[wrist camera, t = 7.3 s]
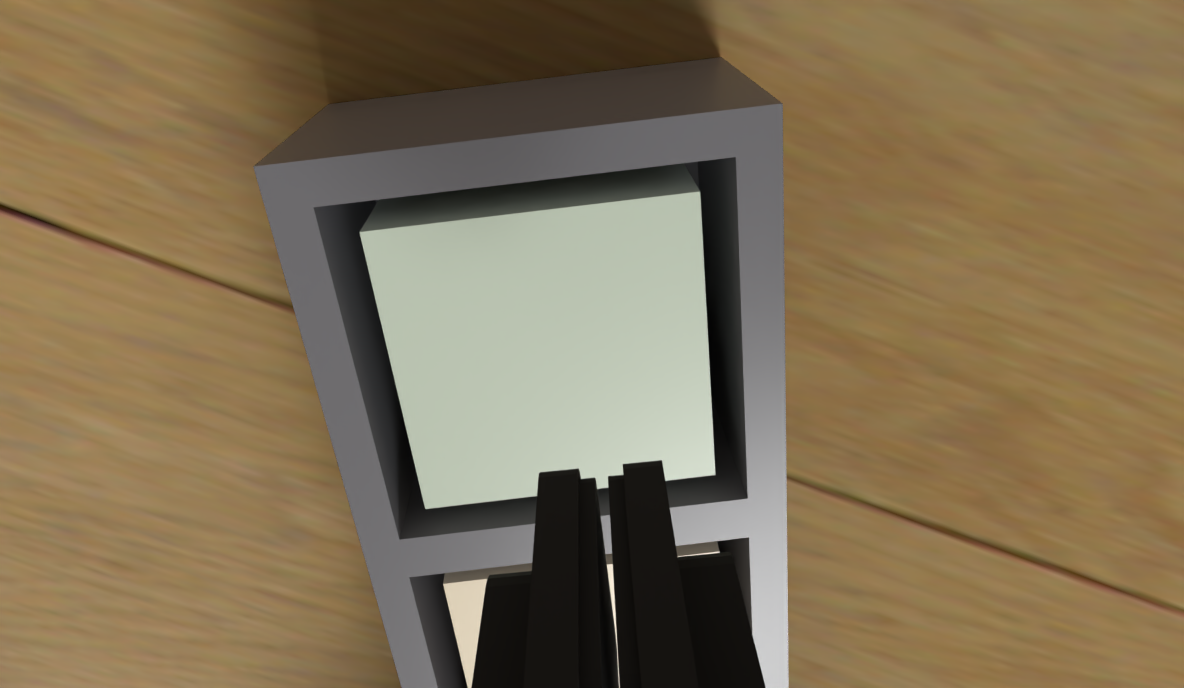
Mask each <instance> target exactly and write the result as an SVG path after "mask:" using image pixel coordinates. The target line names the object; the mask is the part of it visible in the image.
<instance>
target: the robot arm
mask: <svg viewBox="0 0 1184 688" xmlns="http://www.w3.org/2000/svg"><path fill="white" fill-rule="evenodd" d="M608 489H609V506H610V524H611V542H612V560H613V578H614V595H615V613H616V631H617V644H616V634H615V625H614V617H613V609H612V601H611V593H610V586H609V578H608V570H607V562H606V554H605V546H604V538H603V531H602V523H601V515H600V507H599V499H598V491H597V484H596V478H585V479H581V476H580V471H579V468H578V469H568V470H558V471H548V472H540V473H539V477H538V489H537V503H536V517H535V531H534V545H533V559H532V571H526V572H515V573H505V574H495V575H489V577H488V579H487V583H486V587H485V595H484V602H483V609H482V616H481V623H480V630H479V637H478V644H477V651H476V659H475V666H474V673H473V680H472V687H471V688H619V683H620V688H766V687H765V683H764V679H763V675H762V671H761V667H760V663H759V659H758V655H757V651H756V647H755V643H754V639H753V635H752V631H751V627H750V623H749V619H748V615H747V611H746V607H745V603H744V599H743V595H742V591H741V587H740V583H739V579H738V575H737V571H736V567H735V563H734V560H733V556H732V554H731V552H723V553H713V554H703V555H692V556H682V557H678V556H677V550H676V544H675V538H674V531H673V525H672V519H671V513H670V507H669V500H668V494H667V488H666V482H665V476H664V469H663V463H662V460H658V461H648V462H638V463H628V464H623V475H615V476H608ZM617 649H618V658H617ZM618 667H619V676H618Z"/></svg>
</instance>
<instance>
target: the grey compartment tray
mask: <svg viewBox="0 0 1184 688" xmlns="http://www.w3.org/2000/svg"><path fill="white" fill-rule="evenodd" d="M682 163H684V165H685V166H686V168H687V170H688V171H689V173H690V175H691V177H692V178H693V180H694V182H695V183H696V185H697V187H698V189H699V190H700V198H701V217H702V235H703V254H704V272H705V291H706V310H707V328H708V347H709V365H710V384H711V402H712V421H713V439H714V458H715V475H710V476H702V477H694V478H685V479H677V480H668V481H665V482H666V488H667V494H668V500H669V507H670V513H671V519H672V525H673V531H674V538H675V544H676V546H680V545H688V544H697V543H705V542H714V541H717V544H718V548H719V551H720V553H723V552H731V554H732V556H733V560H734V563H735V567H736V571H737V575H738V579H739V583H740V587H741V591H742V595H743V599H744V603H745V607H746V611H747V615H748V619H749V623H750V627H751V631H752V635H753V639H754V643H755V647H756V651H757V655H758V659H759V663H760V667H761V671H762V675H763V679H764V683H765V687H766V688H788V592H787V494H786V397H785V300H784V202H783V105H782V103H781V102H780V101H779V100H777V99H776V98H775V97H773V96H772V95H771V94H769V93H768V92H767V91H765V90H764V89H763V88H761V87H760V86H759V85H757V84H756V83H755V82H754V81H752V80H751V79H750V78H748V77H747V76H746V75H744V74H743V73H742V72H740V71H739V70H738V69H736V68H735V67H734V66H732V65H731V64H730V63H728V62H727V61H726V60H724V59H723V58H722V57H719V58H711V59H702V60H694V61H686V62H677V63H669V64H661V65H652V66H644V67H635V68H627V69H619V70H610V71H602V72H594V73H585V74H577V75H569V76H560V77H552V78H544V79H535V80H527V81H518V82H510V83H502V84H493V85H485V86H477V87H468V88H460V89H452V90H443V91H435V92H427V93H418V94H410V95H401V96H393V97H385V98H376V99H368V100H360V101H351V102H343V103H335V104H328V105H327V106H326V107H324V108H323V109H322V110H321V111H320V112H318V113H317V114H316V115H315V116H314V117H312V118H311V119H310V120H309V121H308V122H306V123H305V124H304V125H303V126H302V127H300V128H299V129H298V130H297V131H296V132H294V133H293V134H292V135H291V136H290V137H288V138H287V139H286V140H285V141H284V142H282V143H281V144H280V145H279V146H278V147H276V148H275V149H274V150H273V151H272V152H270V153H269V154H268V155H267V156H265V157H264V158H263V159H262V160H261V161H259V162H258V163H257V164H256V165H255V166H253V167H254V171H255V174H256V178H257V181H258V185H259V188H260V192H261V195H262V199H263V202H264V206H265V209H266V213H267V216H268V220H269V223H270V227H271V230H272V234H273V237H274V241H275V244H276V248H277V252H278V255H279V259H280V262H281V266H282V269H283V273H284V276H285V280H286V283H287V287H288V290H289V294H290V297H291V301H292V304H293V308H294V311H295V315H296V318H297V322H298V325H299V329H300V332H301V336H302V339H303V343H304V346H305V350H306V353H307V357H308V360H309V364H310V367H311V371H312V375H313V378H314V382H315V385H316V389H317V392H318V396H319V399H320V403H321V406H322V410H323V413H324V417H325V420H326V424H327V427H328V431H329V434H330V438H331V441H332V445H333V448H334V452H335V455H336V459H337V462H338V466H339V469H340V473H341V476H342V480H343V483H344V487H345V491H346V494H347V498H348V501H349V505H350V508H351V512H352V515H353V519H354V522H355V526H356V529H357V533H358V536H359V540H360V543H361V547H362V550H363V554H364V557H365V561H366V564H367V568H368V571H369V575H370V578H371V582H372V585H373V589H374V592H375V596H376V599H377V603H378V606H379V610H380V614H381V617H382V621H383V624H384V628H385V631H386V635H387V638H388V642H389V645H390V649H391V652H392V656H393V659H394V663H395V666H396V670H397V673H398V677H399V680H400V684H401V687H402V688H468V687H467V682H466V678H465V674H464V670H463V666H462V661H461V657H460V653H459V649H458V645H457V640H456V636H455V632H454V628H453V623H452V619H451V615H450V611H449V607H448V602H447V598H446V594H445V590H444V586H443V581H444V575H445V573H450V572H459V571H467V570H476V569H484V568H493V567H501V566H510V565H518V564H527V563H532V559H533V545H534V531H535V517H536V503H537V496H533V497H524V498H516V499H507V500H499V501H490V502H482V503H473V504H465V505H456V506H448V507H439V508H431V509H425V506H424V502H423V497H422V493H421V489H420V485H419V481H418V476H417V472H416V468H415V464H414V460H413V455H412V451H411V447H410V443H409V439H408V434H407V430H406V426H405V422H404V418H403V413H402V409H401V405H400V401H399V396H398V392H397V388H396V384H395V380H394V375H393V371H392V367H391V363H390V359H389V354H388V350H387V346H386V342H385V338H384V333H383V329H382V325H381V321H380V317H379V312H378V308H377V304H376V300H375V295H374V291H373V287H372V283H371V279H370V274H369V270H368V266H367V262H366V258H365V253H364V249H363V245H362V241H361V237H360V230H361V229H362V227H363V225H364V224H365V222H366V220H367V219H368V217H369V215H370V214H371V212H372V210H373V209H374V207H375V205H376V204H377V202H378V200H380V199H388V198H397V197H405V196H413V195H422V194H430V193H438V192H447V191H455V190H464V189H472V188H480V187H489V186H497V185H506V184H514V183H522V182H531V181H539V180H547V179H556V178H564V177H573V176H581V175H589V174H598V173H606V172H615V171H623V170H631V169H640V168H648V167H656V166H665V165H673V164H682ZM597 491H598V499H599V507H600V515H601V523H602V531H603V538H604V546H605V554H612V542H611V524H610V506H609V489H608V488H600V489H597Z"/></svg>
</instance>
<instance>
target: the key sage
mask: <svg viewBox="0 0 1184 688" xmlns="http://www.w3.org/2000/svg"><path fill="white" fill-rule="evenodd" d="M360 237H361V241H362V245H363V249H364V253H365V258H366V262H367V266H368V270H369V274H370V279H371V283H372V287H373V291H374V295H375V300H376V304H377V308H378V312H379V317H380V321H381V325H382V329H383V333H384V338H385V342H386V346H387V350H388V354H389V359H390V363H391V367H392V371H393V375H394V380H395V384H396V388H397V392H398V396H399V401H400V405H401V409H402V413H403V418H404V422H405V426H406V430H407V434H408V439H409V443H410V447H411V451H412V455H413V460H414V464H415V468H416V472H417V476H418V481H419V485H420V489H421V493H422V497H423V502H424V506H425V509H431V508H439V507H448V506H456V505H465V504H473V503H482V502H490V501H499V500H507V499H516V498H524V497H533V496H537V489H538V477H539V473H540V472H548V471H558V470H568V469H578V468H579V471H580V476H581V479H585V478H596V484H597V489H600V488H608V476H615V475H623V464H628V463H638V462H648V461H658V460H662V463H663V469H664V476H665V481H668V480H677V479H685V478H694V477H702V476H710V475H715V458H714V439H713V421H712V402H711V384H710V365H709V347H708V328H707V310H706V291H705V272H704V254H703V235H702V217H701V198H700V190H699V189H698V187H697V185H696V183H695V182H694V180H693V178H692V177H691V175H690V173H689V171H688V170H687V168H686V166H685V165H684V163H682V164H673V165H665V166H656V167H648V168H640V169H631V170H623V171H615V172H606V173H598V174H589V175H581V176H573V177H564V178H556V179H547V180H539V181H531V182H522V183H514V184H506V185H497V186H489V187H480V188H472V189H464V190H455V191H447V192H438V193H430V194H422V195H413V196H405V197H397V198H388V199H380V200H378V202H377V204H376V205H375V207H374V209H373V210H372V212H371V214H370V215H369V217H368V219H367V220H366V222H365V224H364V225H363V227H362V229H361V230H360Z"/></svg>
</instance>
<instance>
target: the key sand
mask: <svg viewBox="0 0 1184 688" xmlns="http://www.w3.org/2000/svg"><path fill="white" fill-rule="evenodd" d="M676 550H677V556H678V557H682V556H692V555H703V554H713V553H720V551H719V548H718V544H717V541H714V542H705V543H697V544H688V545H680V546H676ZM606 562H607V570H608V578H609V586H610V593H611V601H612V609H613V617H614V625H615V634H616V644H617V631H616V613H615V595H614V578H613V560H612V554H606ZM526 571H532V563H527V564H518V565H510V566H501V567H493V568H484V569H476V570H467V571H459V572H450V573H445V575H444V581H443V586H444V590H445V594H446V598H447V602H448V607H449V611H450V615H451V619H452V623H453V628H454V632H455V636H456V640H457V645H458V649H459V653H460V657H461V661H462V666H463V670H464V674H465V678H466V682H467V687H468V688H471V687H472V680H473V673H474V666H475V659H476V651H477V644H478V637H479V630H480V623H481V616H482V609H483V602H484V595H485V587H486V583H487V579H488V577H489V575H495V574H505V573H515V572H526ZM617 658H618V649H617ZM618 676H619V667H618ZM619 688H620V683H619Z"/></svg>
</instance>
